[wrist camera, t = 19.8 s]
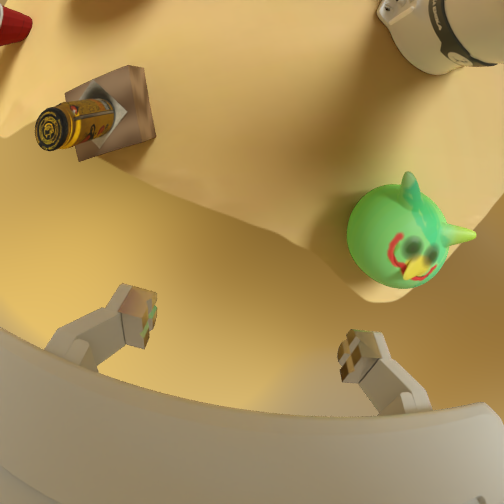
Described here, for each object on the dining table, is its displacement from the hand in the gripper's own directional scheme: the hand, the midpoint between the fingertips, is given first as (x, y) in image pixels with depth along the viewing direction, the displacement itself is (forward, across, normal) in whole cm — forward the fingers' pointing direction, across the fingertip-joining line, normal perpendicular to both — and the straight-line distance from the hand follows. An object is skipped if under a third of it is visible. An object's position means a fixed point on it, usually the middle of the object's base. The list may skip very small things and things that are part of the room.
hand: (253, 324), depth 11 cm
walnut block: (+35, +25, -3) cm, 43 cm away
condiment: (+30, +26, -3) cm, 39 cm away
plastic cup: (+36, +54, -22) cm, 68 cm away
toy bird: (+35, -23, +5) cm, 43 cm away
